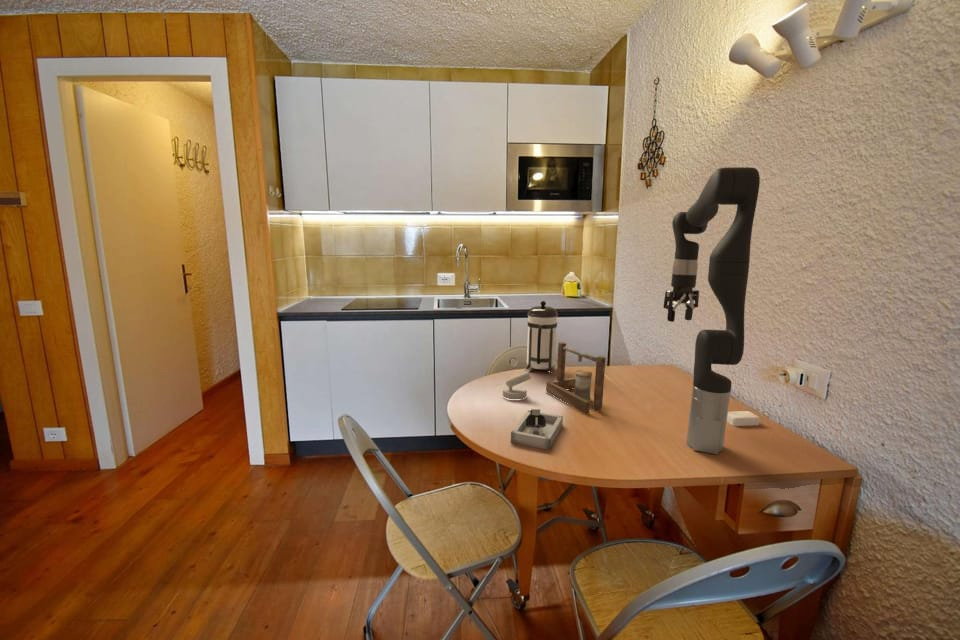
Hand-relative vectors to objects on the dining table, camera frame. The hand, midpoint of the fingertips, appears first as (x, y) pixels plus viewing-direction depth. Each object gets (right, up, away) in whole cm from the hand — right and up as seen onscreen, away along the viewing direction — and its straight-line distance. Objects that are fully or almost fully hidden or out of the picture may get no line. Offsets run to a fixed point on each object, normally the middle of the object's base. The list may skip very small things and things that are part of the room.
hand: (679, 320), depth 149 cm
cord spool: (-32, -28, +7) cm, 43 cm away
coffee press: (-42, -22, +40) cm, 62 cm away
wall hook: (-55, -28, +9) cm, 62 cm away
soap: (+15, -33, -10) cm, 37 cm away
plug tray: (-51, -33, -20) cm, 64 cm away
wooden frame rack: (-32, -28, +7) cm, 43 cm away
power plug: (-52, -32, -19) cm, 64 cm away
